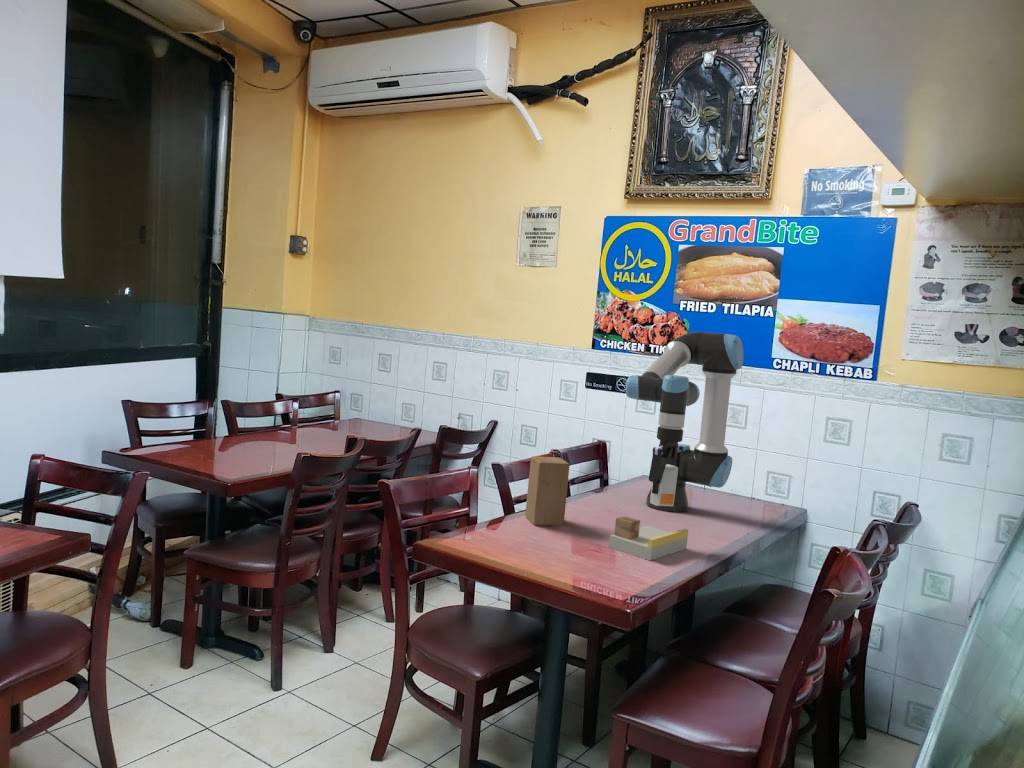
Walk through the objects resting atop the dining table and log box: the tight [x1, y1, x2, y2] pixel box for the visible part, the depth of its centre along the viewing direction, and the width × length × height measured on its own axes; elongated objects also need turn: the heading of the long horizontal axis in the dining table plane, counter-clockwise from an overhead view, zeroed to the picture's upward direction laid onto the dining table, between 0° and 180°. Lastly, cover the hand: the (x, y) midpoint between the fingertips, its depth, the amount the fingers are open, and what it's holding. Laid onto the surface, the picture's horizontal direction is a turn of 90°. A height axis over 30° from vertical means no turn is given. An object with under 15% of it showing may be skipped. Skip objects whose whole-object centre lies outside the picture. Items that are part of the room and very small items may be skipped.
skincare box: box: [650, 464, 678, 506], centre depth 226 cm, size 6×4×12 cm
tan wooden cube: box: [614, 515, 641, 539], centre depth 220 cm, size 5×5×5 cm
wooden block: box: [524, 455, 570, 527], centre depth 240 cm, size 10×10×20 cm
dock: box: [608, 525, 689, 561], centre depth 222 cm, size 20×14×6 cm
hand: (662, 502), depth 227 cm, fingers closed on skincare box, 7 cm apart
